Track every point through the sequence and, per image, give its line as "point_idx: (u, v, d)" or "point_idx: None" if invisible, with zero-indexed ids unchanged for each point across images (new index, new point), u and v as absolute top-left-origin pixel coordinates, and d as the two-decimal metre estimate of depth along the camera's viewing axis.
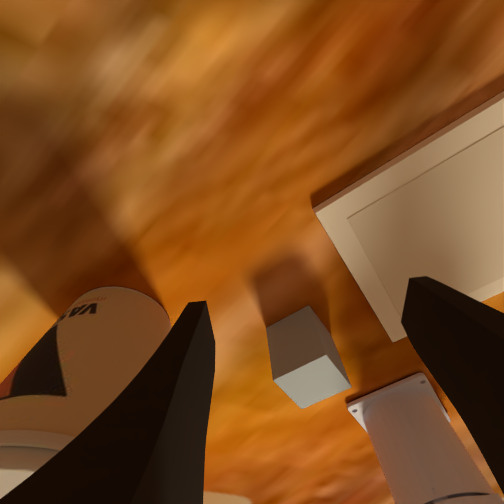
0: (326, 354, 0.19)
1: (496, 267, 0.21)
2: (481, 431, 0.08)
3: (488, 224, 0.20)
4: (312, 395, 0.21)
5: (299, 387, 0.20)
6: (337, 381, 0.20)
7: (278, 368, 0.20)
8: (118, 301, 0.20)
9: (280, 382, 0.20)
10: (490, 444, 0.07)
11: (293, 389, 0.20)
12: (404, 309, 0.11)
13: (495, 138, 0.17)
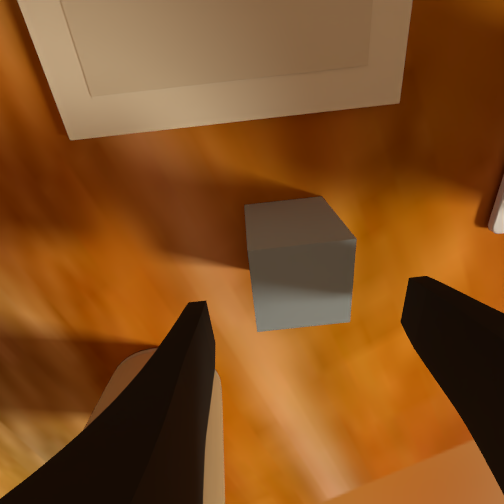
0: (251, 248, 0.11)
1: None
2: (481, 431, 0.08)
3: None
4: (329, 298, 0.12)
5: (297, 307, 0.12)
6: (324, 255, 0.11)
7: None
8: (110, 382, 0.18)
9: (268, 325, 0.13)
10: (490, 444, 0.07)
11: (296, 316, 0.12)
12: (404, 309, 0.11)
13: None
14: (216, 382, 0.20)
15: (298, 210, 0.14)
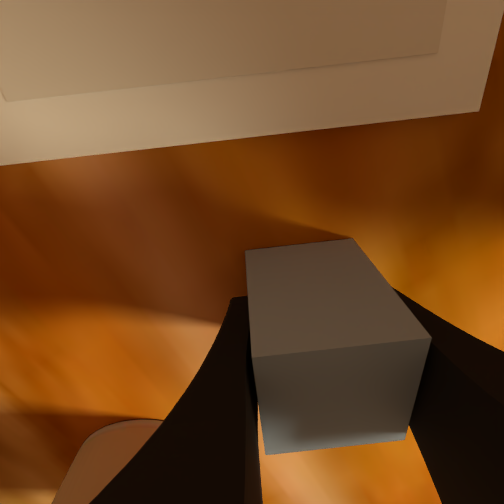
0: (258, 351, 0.07)
1: None
2: (423, 437, 0.08)
3: None
4: (378, 414, 0.08)
5: (327, 426, 0.08)
6: (377, 361, 0.07)
7: None
8: (71, 471, 0.14)
9: (282, 448, 0.08)
10: (430, 450, 0.07)
11: (324, 436, 0.08)
12: None
13: None
14: None
15: (323, 265, 0.09)
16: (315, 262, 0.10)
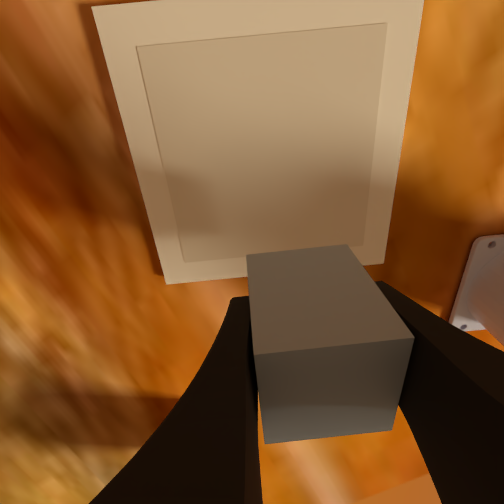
0: (260, 349, 0.07)
1: (353, 115, 0.15)
2: (423, 437, 0.08)
3: (273, 117, 0.14)
4: (367, 406, 0.09)
5: (322, 417, 0.09)
6: (366, 358, 0.08)
7: None
8: None
9: (279, 437, 0.09)
10: (430, 451, 0.07)
11: (318, 426, 0.09)
12: None
13: (156, 92, 0.14)
14: None
15: (319, 270, 0.10)
16: (311, 267, 0.10)
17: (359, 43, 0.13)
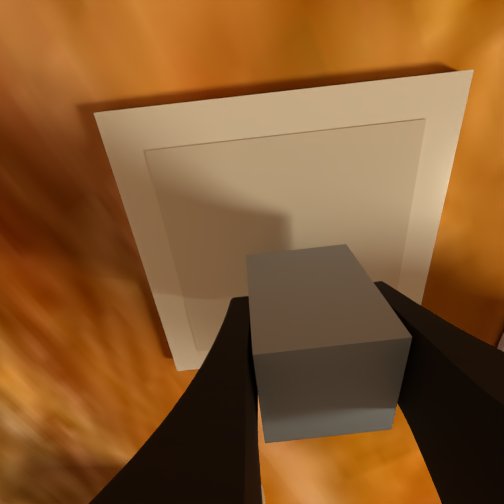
0: (258, 349, 0.08)
1: (384, 209, 0.13)
2: (423, 437, 0.08)
3: (296, 213, 0.13)
4: (366, 405, 0.09)
5: (321, 416, 0.09)
6: (365, 358, 0.08)
7: None
8: None
9: (280, 436, 0.09)
10: (430, 451, 0.07)
11: (318, 425, 0.09)
12: None
13: (166, 193, 0.12)
14: (262, 496, 0.25)
15: (318, 270, 0.10)
16: (311, 267, 0.11)
17: (393, 139, 0.12)
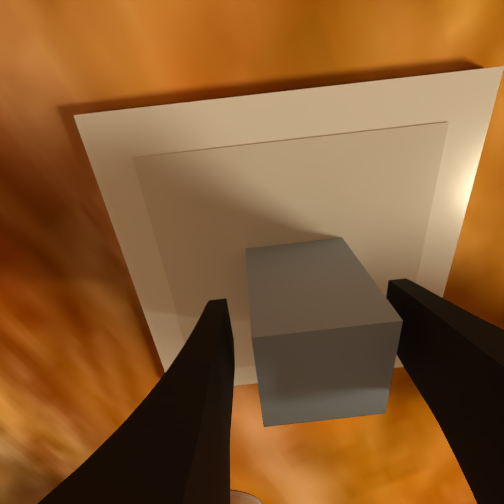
0: (257, 333, 0.08)
1: (399, 221, 0.12)
2: (454, 434, 0.08)
3: (301, 226, 0.12)
4: (360, 389, 0.09)
5: (317, 400, 0.09)
6: (358, 341, 0.08)
7: None
8: None
9: (278, 420, 0.10)
10: (462, 447, 0.07)
11: (315, 409, 0.09)
12: None
13: (157, 205, 0.11)
14: None
15: (315, 261, 0.11)
16: (308, 259, 0.11)
17: (412, 145, 0.11)
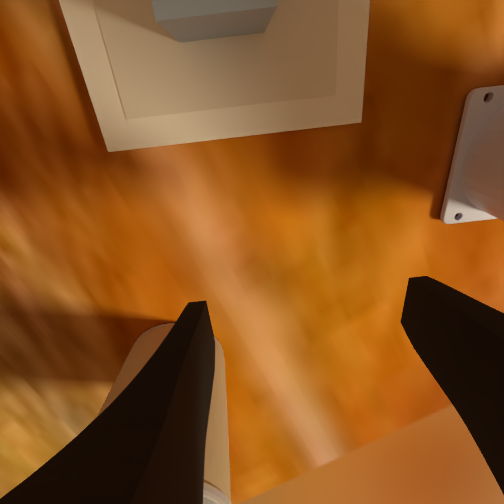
0: None
1: None
2: (481, 431, 0.08)
3: None
4: None
5: None
6: None
7: None
8: (132, 350, 0.22)
9: (168, 8, 0.09)
10: (490, 444, 0.07)
11: None
12: (404, 309, 0.11)
13: None
14: (219, 352, 0.24)
15: None
16: None
17: None
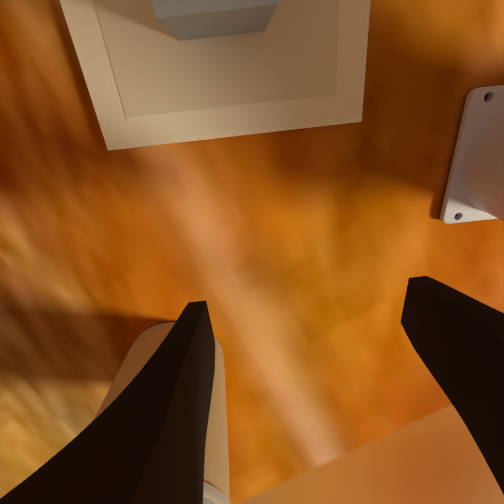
0: None
1: None
2: (481, 431, 0.08)
3: None
4: None
5: None
6: None
7: None
8: (131, 349, 0.22)
9: (168, 5, 0.09)
10: (490, 444, 0.07)
11: None
12: (404, 309, 0.11)
13: None
14: (219, 351, 0.24)
15: None
16: None
17: None
